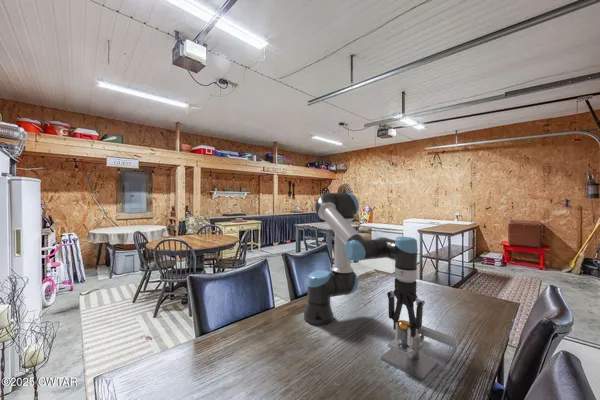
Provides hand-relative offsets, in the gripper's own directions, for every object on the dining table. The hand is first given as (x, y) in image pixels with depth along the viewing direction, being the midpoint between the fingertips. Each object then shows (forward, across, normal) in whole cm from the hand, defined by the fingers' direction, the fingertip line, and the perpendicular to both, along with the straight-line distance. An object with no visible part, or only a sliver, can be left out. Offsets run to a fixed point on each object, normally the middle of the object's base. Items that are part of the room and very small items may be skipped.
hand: (404, 341), depth 96 cm
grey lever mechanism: (+9, +3, +4) cm, 11 cm away
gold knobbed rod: (+4, 0, 0) cm, 4 cm away
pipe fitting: (+10, -7, +21) cm, 24 cm away
